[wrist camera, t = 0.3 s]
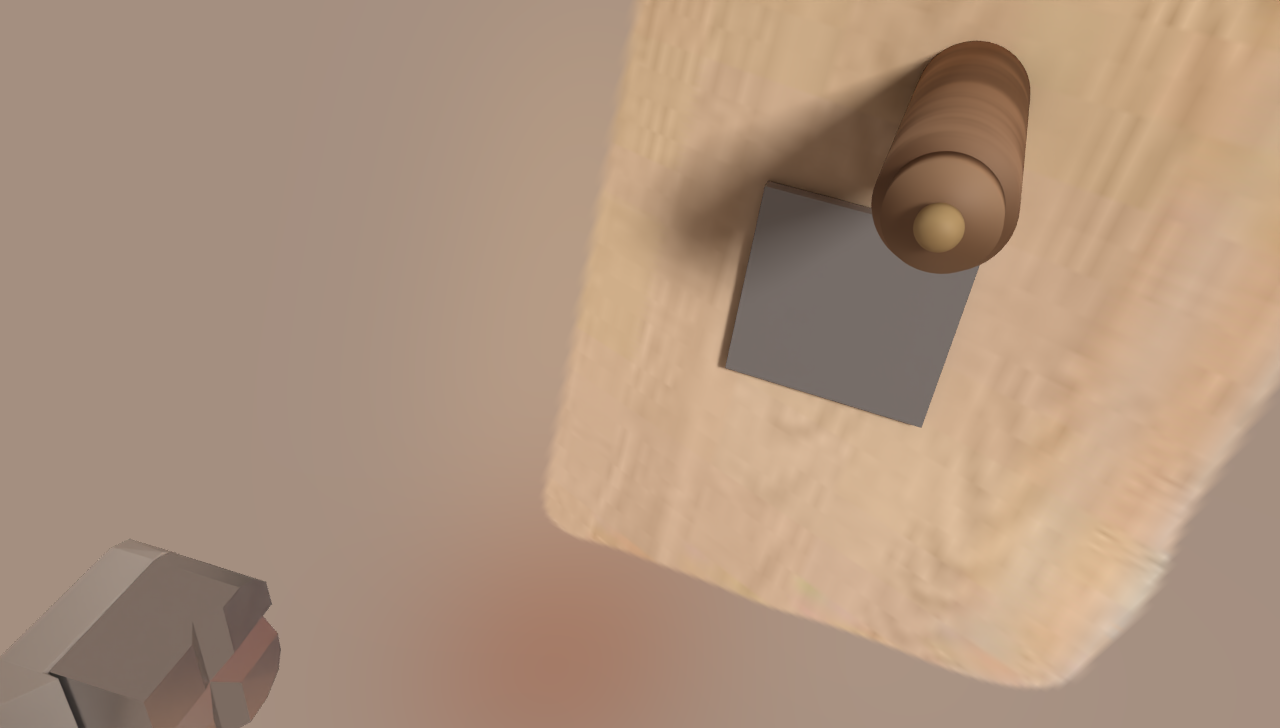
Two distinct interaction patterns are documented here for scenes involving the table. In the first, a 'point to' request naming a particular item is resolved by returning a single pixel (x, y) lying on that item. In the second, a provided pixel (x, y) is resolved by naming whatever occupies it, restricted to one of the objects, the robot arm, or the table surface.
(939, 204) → the pepper mill
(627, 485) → the table surface
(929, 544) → the table surface
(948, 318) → the trivet
